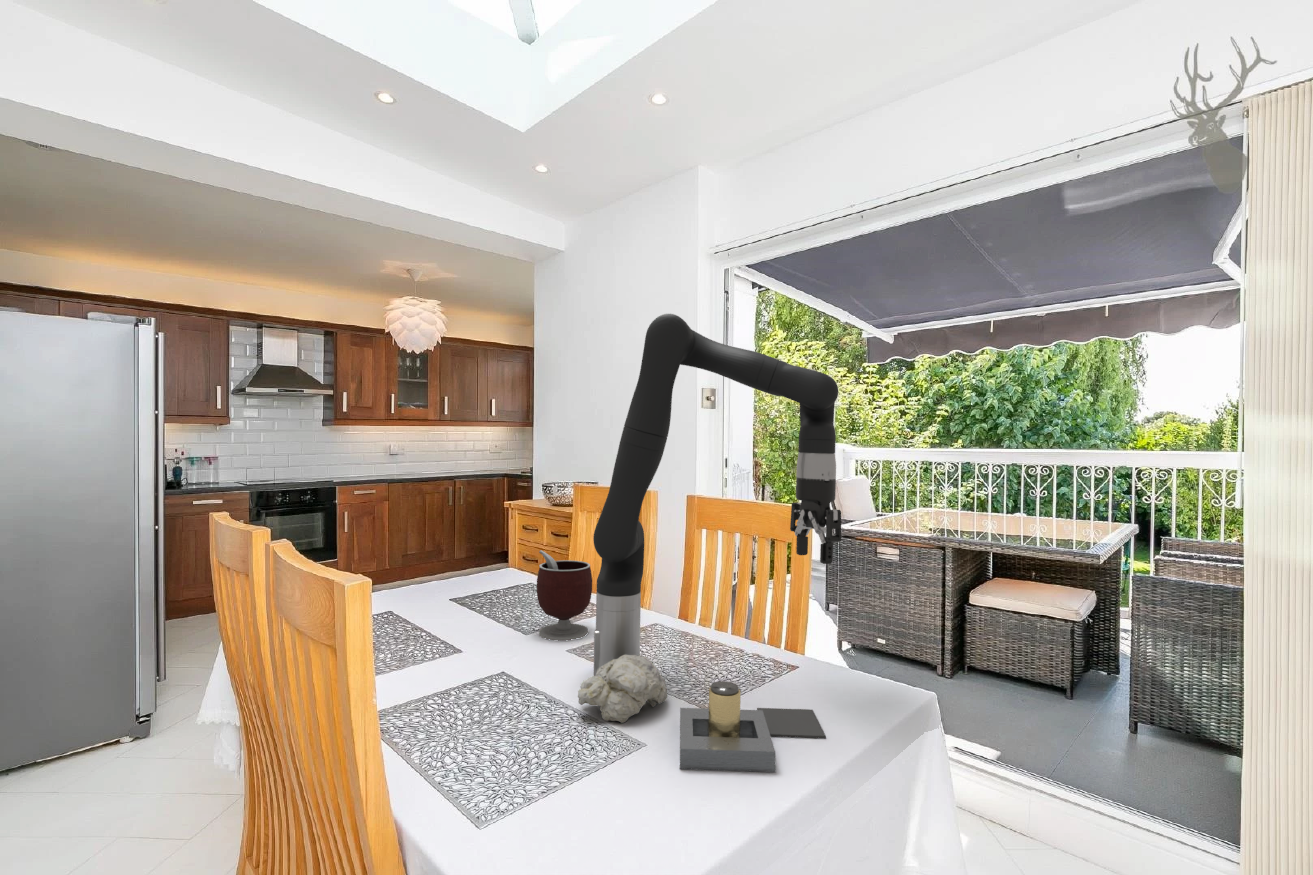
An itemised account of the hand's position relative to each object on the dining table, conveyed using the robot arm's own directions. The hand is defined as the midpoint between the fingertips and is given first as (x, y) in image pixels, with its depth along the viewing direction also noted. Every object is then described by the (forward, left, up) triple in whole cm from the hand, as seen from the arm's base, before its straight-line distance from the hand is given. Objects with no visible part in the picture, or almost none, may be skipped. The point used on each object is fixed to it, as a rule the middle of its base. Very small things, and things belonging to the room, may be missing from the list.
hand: (813, 559), depth 119 cm
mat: (-7, -14, -26) cm, 30 cm away
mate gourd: (-56, +33, -26) cm, 70 cm away
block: (-19, -23, -26) cm, 39 cm away
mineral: (-36, -11, -26) cm, 46 cm away
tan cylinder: (-19, -23, -26) cm, 39 cm away
